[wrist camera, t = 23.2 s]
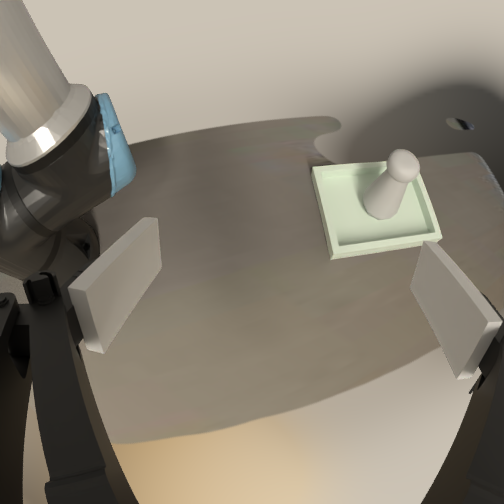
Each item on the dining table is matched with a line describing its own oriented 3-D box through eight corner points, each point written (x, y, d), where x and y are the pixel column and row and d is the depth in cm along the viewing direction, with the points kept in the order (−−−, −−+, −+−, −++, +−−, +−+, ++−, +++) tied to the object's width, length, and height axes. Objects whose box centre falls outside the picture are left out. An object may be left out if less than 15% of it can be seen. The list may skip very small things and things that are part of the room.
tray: (330, 259, 43) (333, 254, 41) (310, 175, 48) (312, 166, 46) (435, 243, 43) (442, 237, 41) (409, 167, 48) (414, 160, 45)
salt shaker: (387, 231, 44) (421, 189, 31) (353, 214, 45) (379, 165, 33) (398, 201, 45) (431, 155, 33) (366, 185, 46) (391, 134, 34)
